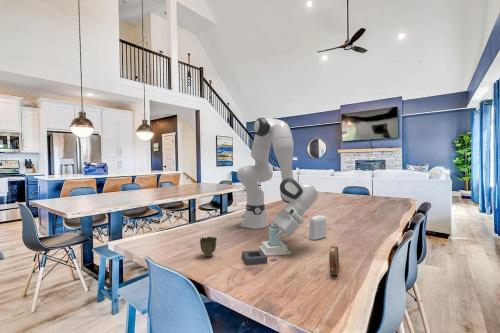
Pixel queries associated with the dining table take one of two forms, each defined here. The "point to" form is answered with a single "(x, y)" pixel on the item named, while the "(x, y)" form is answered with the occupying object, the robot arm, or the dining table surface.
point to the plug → (273, 235)
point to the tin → (334, 260)
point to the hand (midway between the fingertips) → (272, 234)
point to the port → (274, 249)
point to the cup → (208, 245)
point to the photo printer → (317, 227)
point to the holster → (254, 257)
